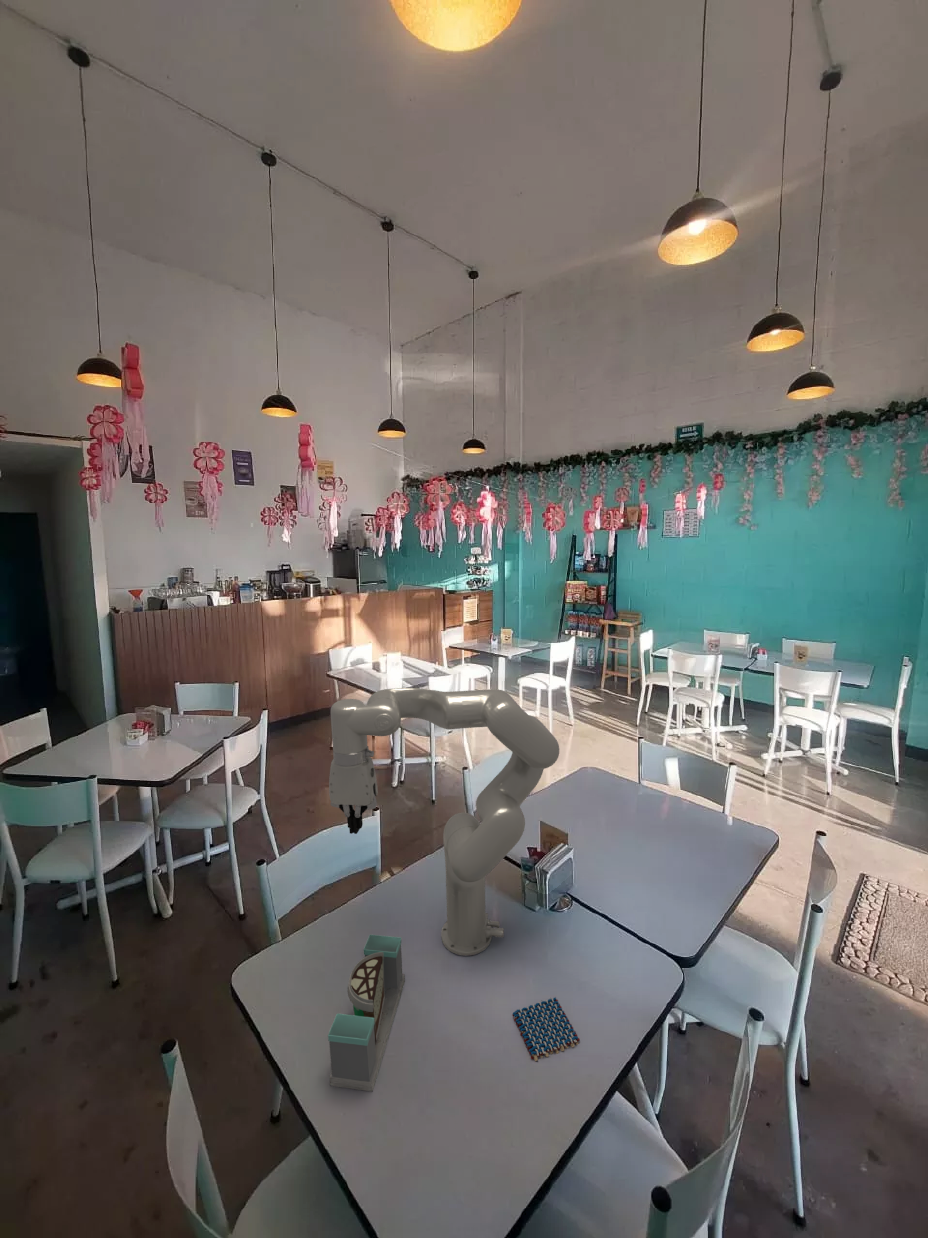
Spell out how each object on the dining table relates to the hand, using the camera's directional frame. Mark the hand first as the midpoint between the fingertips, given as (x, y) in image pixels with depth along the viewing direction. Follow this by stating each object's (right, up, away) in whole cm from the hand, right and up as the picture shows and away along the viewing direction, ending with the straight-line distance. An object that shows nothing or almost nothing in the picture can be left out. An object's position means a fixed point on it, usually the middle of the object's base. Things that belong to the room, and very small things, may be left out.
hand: (355, 830), depth 117 cm
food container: (+5, -33, -13) cm, 36 cm away
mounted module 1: (+5, -34, -23) cm, 42 cm away
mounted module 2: (+7, -31, -4) cm, 32 cm away
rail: (+6, -35, -13) cm, 38 cm away
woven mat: (+41, -35, -14) cm, 56 cm away
